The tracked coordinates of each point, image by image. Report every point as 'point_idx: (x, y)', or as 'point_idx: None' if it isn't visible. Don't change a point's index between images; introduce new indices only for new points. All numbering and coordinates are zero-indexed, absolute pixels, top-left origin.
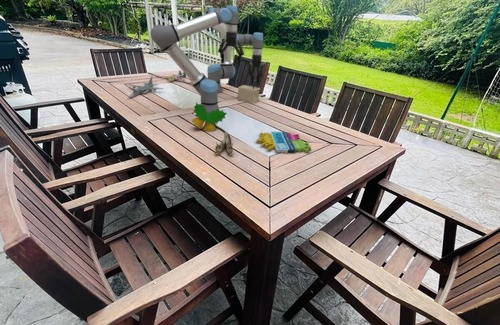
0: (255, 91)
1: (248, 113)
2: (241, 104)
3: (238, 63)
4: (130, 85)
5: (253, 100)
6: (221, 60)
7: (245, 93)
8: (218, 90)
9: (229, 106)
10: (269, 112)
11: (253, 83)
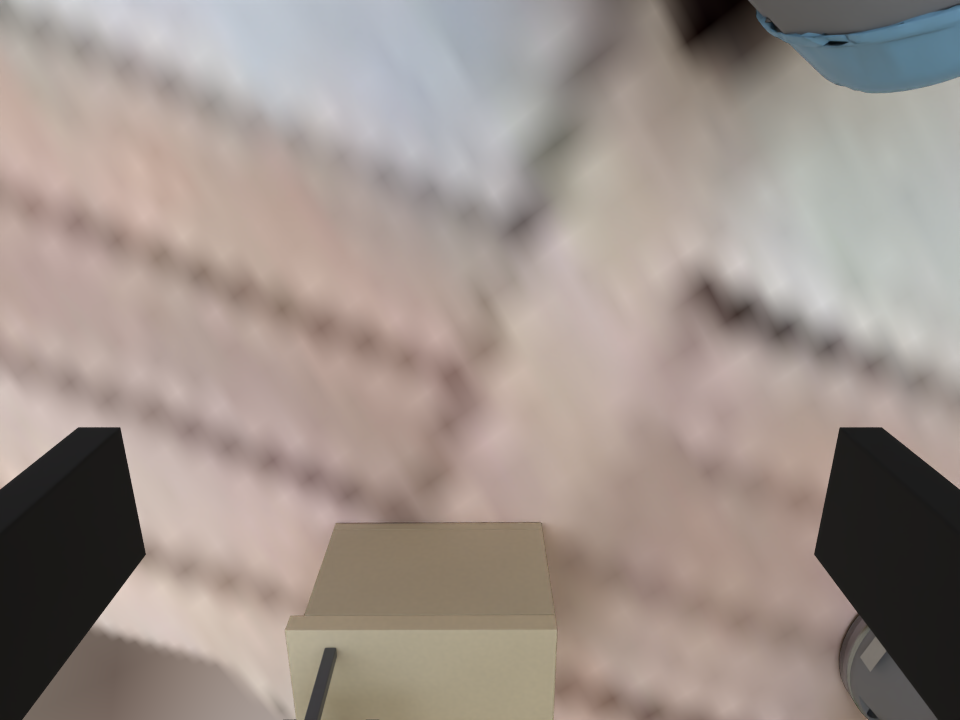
0: (289, 618)
1: (168, 149)
2: (421, 404)
3: (27, 472)
4: None
5: (334, 540)
6: (940, 484)
7: (441, 582)
8: (874, 637)
9: (497, 250)
10: (14, 337)
11: (316, 713)
